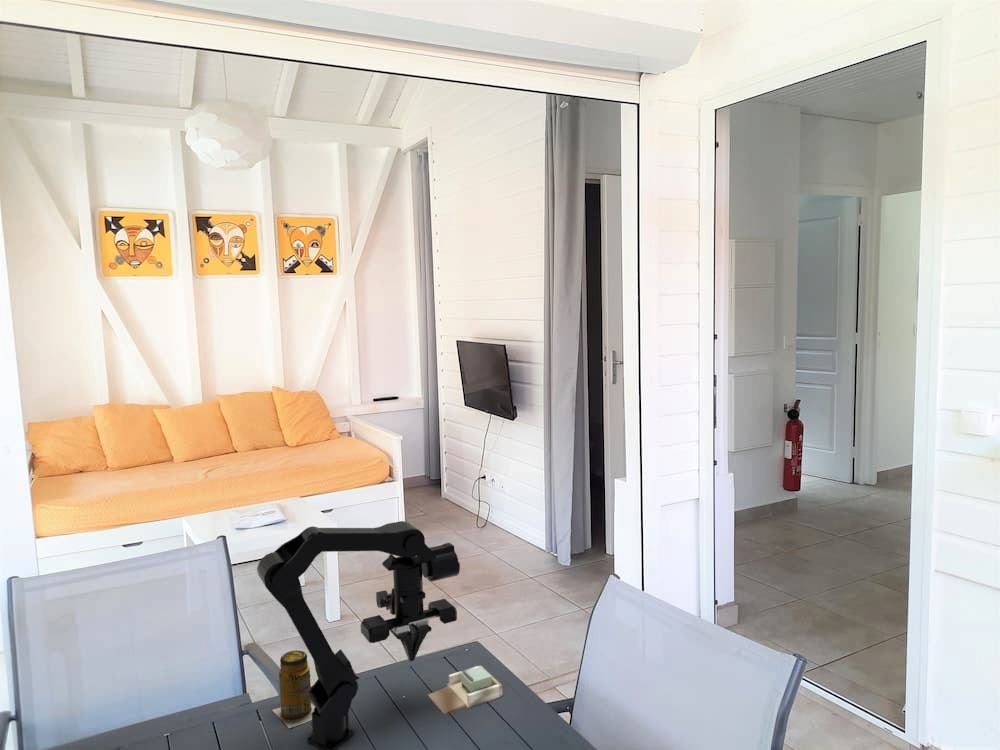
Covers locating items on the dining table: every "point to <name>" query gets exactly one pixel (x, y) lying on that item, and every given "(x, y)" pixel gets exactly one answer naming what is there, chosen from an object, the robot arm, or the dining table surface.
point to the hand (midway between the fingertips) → (411, 660)
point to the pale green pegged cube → (475, 679)
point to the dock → (463, 694)
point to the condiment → (294, 689)
